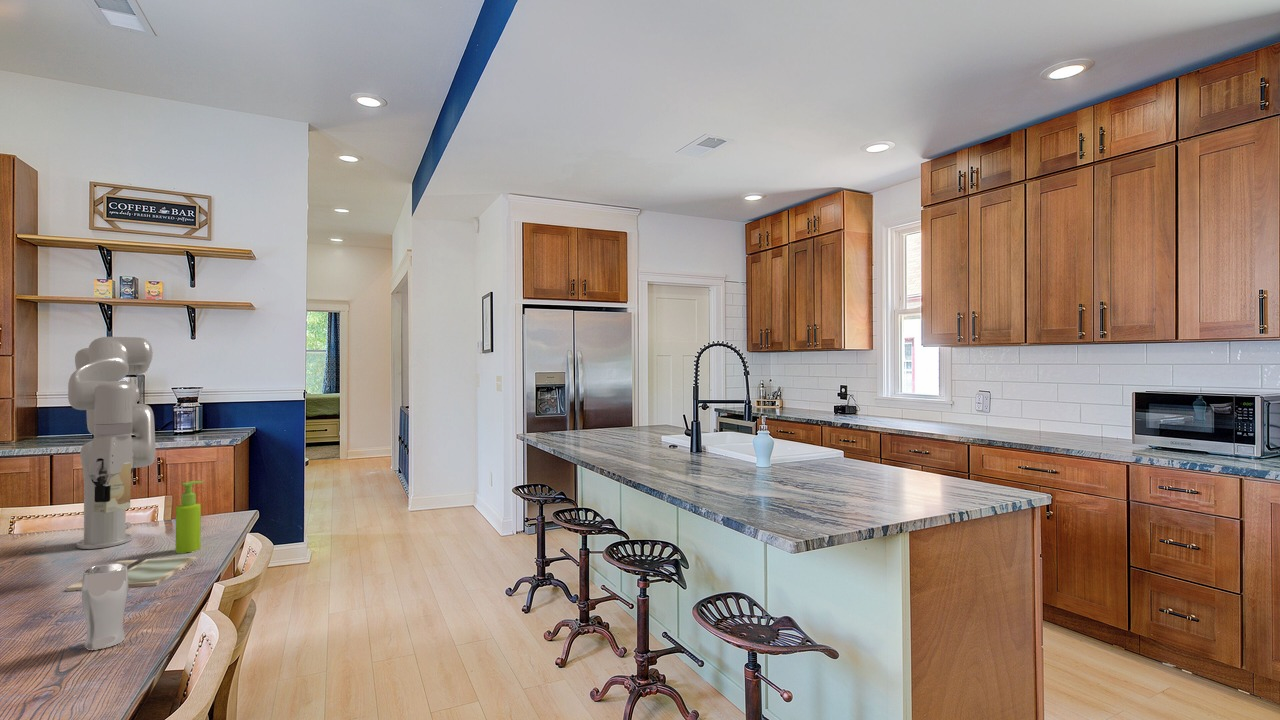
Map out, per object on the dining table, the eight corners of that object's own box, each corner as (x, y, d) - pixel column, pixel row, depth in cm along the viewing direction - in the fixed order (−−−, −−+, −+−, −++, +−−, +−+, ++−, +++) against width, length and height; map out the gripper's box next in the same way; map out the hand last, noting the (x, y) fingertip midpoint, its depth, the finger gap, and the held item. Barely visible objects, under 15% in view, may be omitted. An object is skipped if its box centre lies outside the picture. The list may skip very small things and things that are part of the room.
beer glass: (100, 636, 124) (100, 562, 124) (136, 635, 124) (137, 561, 124) (71, 652, 117) (71, 574, 117) (110, 651, 117) (110, 573, 117)
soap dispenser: (208, 547, 181) (209, 480, 181) (184, 554, 175) (185, 485, 175) (194, 545, 183) (195, 479, 183) (170, 552, 177) (171, 483, 177)
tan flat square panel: (117, 563, 166) (117, 560, 166) (196, 559, 171) (196, 555, 171) (66, 591, 147) (66, 587, 147) (156, 585, 151) (156, 581, 151)
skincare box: (105, 514, 155) (106, 465, 155) (92, 512, 156) (92, 465, 156) (132, 508, 161) (132, 461, 161) (119, 507, 162) (119, 461, 162)
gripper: (118, 426, 166) (118, 491, 166) (72, 434, 149) (71, 506, 149) (149, 426, 168) (149, 490, 167) (107, 433, 150) (107, 505, 150)
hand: (112, 497), depth 158 cm, fingers closed on skincare box, 7 cm apart
